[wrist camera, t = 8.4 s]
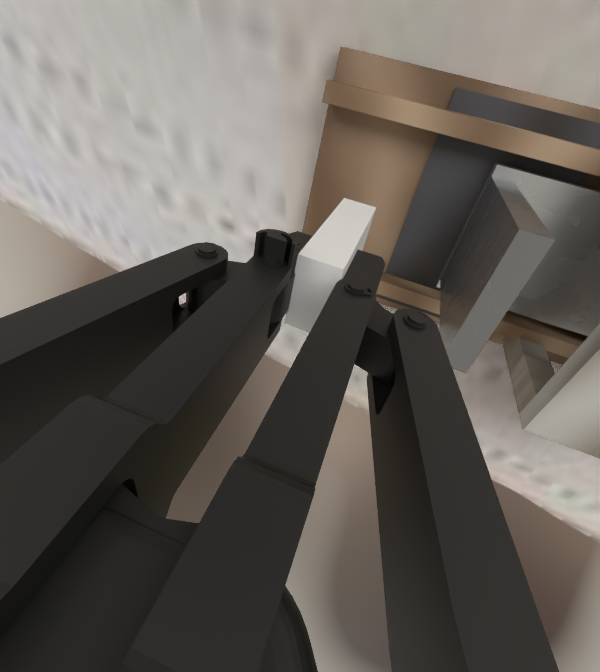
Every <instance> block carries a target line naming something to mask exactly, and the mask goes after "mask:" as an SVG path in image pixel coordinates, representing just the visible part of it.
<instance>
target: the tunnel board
mask: <svg viewBox="0 0 600 672" xmlns="http://www.w3.org/2000/svg"><path fill="white" fill-rule="evenodd" d="M322 102H324V103H328V104H329V106H328V110H327V115H326V120H325V125H324V130H323V135H322V139H321V144H320V149H319V154H318V159H317V164H316V169H315V173H314V178H313V183H312V188H311V193H310V198H309V202H308V207H307V212H306V217H305V222H304V227H303V232H302V233H305V234H308V235H311V236H313V235H314V234H315V233H316V232H317V231H318V229H319V228H320V227H321V226H322V224H323V223H324V222H325V221H326V220H327V218H328V217H329V216H330V215H331V214H332V212H333V211H334V210H335V209H336V207H337V206H338V205H339V204H340V203H341V201H342V200H343V199H344V198H346V199H350V200H353V201H356V202H360V203H363V204H366V205H370V206H373V207H376V210H375V213H374V216H373V219H372V223H371V226H370V229H369V232H368V235H367V238H366V241H365V244H364V248H363V251H365V252H368V253H371V254H374V255H377V256H380V257H382V258H383V260H384V262H385V267H384V270H383V274H382V277H381V280H380V283H379V286H378V289H377V292H376V300H377V302H379V303H382V304H385V305H388V306H391V307H394V308H397V309H404V308H406V309H413V310H417V311H421V312H423V313H425V314H426V315H428V316H429V317H430V318H431V319H432V320H434V321H435V322H438V323H440V288H438V287H436V282H437V280H438V278H439V276H440V274H441V272H442V270H443V268H444V266H445V263H446V261H447V259H448V257H449V255H450V253H451V251H452V249H453V247H454V245H455V243H456V241H457V239H458V237H459V235H460V233H461V231H462V229H463V227H464V225H465V223H466V221H467V219H468V217H469V215H470V213H471V211H472V209H473V207H474V205H475V203H476V201H477V199H478V197H479V195H480V193H481V191H482V189H483V187H484V185H485V183H486V181H487V179H488V177H489V174H490V172H491V170H492V168H493V166H494V164H495V162H498V163H501V164H505V165H509V166H512V167H516V168H520V169H523V170H527V171H531V172H534V173H538V174H542V175H545V176H549V177H553V178H556V179H560V180H564V181H567V182H571V183H575V184H578V185H582V186H586V187H589V188H593V189H597V190H600V110H598V109H594V108H590V107H586V106H582V105H578V104H574V103H570V102H566V101H562V100H557V99H553V98H549V97H545V96H541V95H537V94H533V93H529V92H525V91H521V90H517V89H512V88H508V87H504V86H500V85H496V84H492V83H488V82H484V81H480V80H476V79H472V78H468V77H463V76H459V75H455V74H451V73H447V72H443V71H439V70H435V69H431V68H427V67H423V66H419V65H414V64H410V63H406V62H402V61H398V60H394V59H390V58H386V57H382V56H378V55H374V54H370V53H365V52H361V51H357V50H353V49H349V48H345V47H340V52H339V57H338V62H337V67H336V72H335V76H334V80H327V81H326V86H325V91H324V96H323V101H322ZM488 340H491V341H494V342H497V343H500V344H503V347H504V351H505V355H506V360H507V364H508V368H509V373H510V377H511V381H512V385H513V390H514V394H515V398H516V403H517V407H518V411H519V416H520V420H521V424H522V429H523V430H524V431H527V432H529V433H532V434H535V435H538V436H540V437H543V438H546V439H549V440H551V441H554V442H557V443H559V444H562V445H565V446H568V447H570V448H573V449H576V450H578V451H581V452H584V453H587V454H589V455H592V456H595V457H598V458H600V324H599V325H598V326H597V327H596V329H595V330H594V331H593V332H592V333H591V334H590V335H589V336H586V335H582V334H579V333H576V332H573V331H570V330H567V329H564V328H561V327H558V326H555V325H552V324H549V323H546V322H543V321H539V320H536V319H533V318H530V317H527V316H524V315H521V314H518V313H515V312H512V311H509V310H508V311H507V312H506V314H505V315H504V317H503V318H502V320H501V321H500V323H499V324H498V326H497V327H496V329H495V330H494V332H493V333H492V335H491V336H490V337H489V339H488ZM550 361H553V362H556V363H559V364H562V367H561V368H560V369H559V370H558V371H557V372H556V373H554V371H553V368H552V365H551V363H550Z"/></svg>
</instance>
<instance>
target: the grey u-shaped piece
mask: <svg viewBox="0 0 600 672" xmlns="http://www.w3.org/2000/svg"><path fill="white" fill-rule="evenodd" d="M436 287H438V288H440V335H441V338H442V341H443V344H444V347H445V349H446V352H447V355H448V358H449V361H450V364H451V366H452V368H453V369H456V370H459V371H462V372H465V373H466V372H467V370H468V369H469V367H470V366H471V364H472V363H473V361H474V360H475V358H476V357H477V355H478V354H479V352H480V351H481V349H482V348H483V346H484V345H485V343H486V342H487V340H488V339H489V337H490V336H491V335H492V333H493V332H494V330H495V329H496V327H497V326H498V324H499V323H500V321H501V320H502V318H503V317H504V315H505V314H506V312H507V311H508V310H509V311H512V312H515V313H518V314H521V315H524V316H527V317H530V318H533V319H536V320H539V321H543V322H546V323H549V324H552V325H555V326H558V327H561V328H564V329H567V330H570V331H573V332H576V333H579V334H582V335H586V336H589V335H590V334H591V333H592V332H593V331H594V330H595V329H596V327H597V326H598V325H599V324H600V190H597V189H593V188H589V187H586V186H582V185H578V184H575V183H571V182H567V181H564V180H560V179H556V178H553V177H549V176H545V175H542V174H538V173H534V172H531V171H527V170H523V169H520V168H516V167H512V166H509V165H505V164H501V163H498V162H495V164H494V166H493V168H492V170H491V172H490V174H489V177H488V179H487V181H486V183H485V185H484V187H483V189H482V191H481V193H480V195H479V197H478V199H477V201H476V203H475V205H474V207H473V209H472V211H471V213H470V215H469V217H468V219H467V221H466V223H465V225H464V227H463V229H462V231H461V233H460V235H459V237H458V239H457V241H456V243H455V245H454V247H453V249H452V251H451V253H450V255H449V257H448V259H447V261H446V263H445V266H444V268H443V270H442V272H441V274H440V276H439V278H438V280H437V282H436Z"/></svg>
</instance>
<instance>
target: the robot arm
mask: <svg viewBox="0 0 600 672" xmlns="http://www.w3.org/2000/svg"><path fill="white" fill-rule="evenodd" d="M375 210H376V207H373V206H370V205H366V204H363V203H360V202H356V201H353V200H350V199H346V198H344V199H343V200H342V201H341V203H340V204H339V205H338V206H337V207H336V209H335V210H334V211H333V212H332V214H331V215H330V216H329V217H328V218H327V220H326V221H325V222H324V223H323V224H322V226H321V227H320V228H319V229H318V231H317V232H316V233H315V234H314V235H313V236H311V235H308V234H305V233H302V232H298V231H297V232H293V233H290V234H288V233H286V232H284V231H279V230H274V229H265V230H260V231H258V232H256V241H255V250H254V256H253V257H252V258H251V259H250V260H249V261H248V262H247V263H239V262H233V261H228V253H227V251H226V250H225V249H224V248H222V247H221V246H218V245H216V244H213V243H207V242H205V243H196V244H192V245H189V246H187V247H184V248H182V249H179V250H176V251H174V252H171V253H169V254H166V255H163V256H161V257H158V258H156V259H153V260H150V261H148V262H145V263H143V264H140V265H137V266H135V267H132V268H130V269H127V270H124V271H122V272H119V273H117V274H114V275H112V276H109V277H106V278H104V279H101V280H99V281H96V282H93V283H91V284H88V285H86V286H83V287H80V288H78V289H75V290H72V291H70V292H67V293H65V294H62V295H59V296H57V297H54V298H52V299H49V300H46V301H44V302H41V303H39V304H36V305H34V306H31V307H28V308H26V309H23V310H21V311H18V312H15V313H13V314H10V315H7V316H5V317H2V318H0V672H318V671H317V667H316V663H315V659H314V655H313V651H312V647H311V643H310V639H309V636H308V632H307V629H306V626H305V623H304V621H303V618H302V615H301V613H300V611H299V608H298V607H297V605H296V603H295V601H294V599H293V597H292V595H291V594H290V592H289V591H288V589H287V588H286V586H285V584H286V580H287V578H288V574H289V571H290V568H291V565H292V562H293V558H294V556H295V552H296V549H297V546H298V543H299V540H300V537H301V533H302V530H303V527H304V524H305V521H306V518H307V515H308V512H309V508H310V505H311V502H312V499H313V495H314V491H315V485H316V481H317V478H318V475H319V472H320V468H321V465H322V462H323V459H324V456H325V453H326V450H327V447H328V444H329V441H330V438H331V434H332V431H333V428H334V425H335V422H336V419H337V416H338V412H339V410H340V407H341V404H342V400H343V397H344V394H345V391H346V388H347V385H348V382H349V379H350V376H351V373H352V369H353V366H354V364H356V365H357V366H359V367H360V368H362V369H363V370H365V371H367V372H368V375H367V388H368V400H369V412H370V424H371V436H372V448H373V460H374V472H375V485H376V496H377V509H378V521H379V533H380V544H381V557H382V569H383V580H384V591H385V603H386V604H385V605H386V617H387V629H388V641H389V651H390V660H391V668H392V672H559V670H558V667H557V664H556V661H555V659H554V656H553V653H552V650H551V647H550V645H549V642H548V639H547V636H546V633H545V630H544V628H543V625H542V622H541V619H540V616H539V614H538V611H537V608H536V605H535V602H534V599H533V596H532V593H531V591H530V588H529V585H528V582H527V579H526V576H525V574H524V571H523V568H522V565H521V563H520V559H519V557H518V554H517V551H516V548H515V545H514V542H513V539H512V537H511V534H510V531H509V528H508V525H507V522H506V520H505V517H504V514H503V511H502V508H501V506H500V503H499V500H498V497H497V494H496V491H495V489H494V486H493V483H492V480H491V477H490V474H489V471H488V469H487V466H486V463H485V460H484V457H483V454H482V452H481V449H480V446H479V443H478V440H477V437H476V435H475V432H474V429H473V426H472V423H471V420H470V418H469V415H468V412H467V409H466V406H465V403H464V400H463V398H462V395H461V392H460V389H459V386H458V383H457V381H456V378H455V375H454V372H453V369H452V366H451V364H450V361H449V358H448V355H447V352H446V349H445V347H444V344H443V341H442V338H441V335H440V332H439V330H438V327H437V325H436V323H435V322H434V320H432V319H431V318H430V317H429V316H428V315H426V314H425V313H423V312H421V311H417V310H413V309H406V308H404V309H399V310H397V311H396V312H395V313H394V314H392V313H390V312H389V311H387V310H386V309H384V308H383V307H382V306H381V305H380V304H379V303H378V302H377V300H376V292H377V289H378V286H379V283H380V280H381V277H382V274H383V270H384V267H385V262H384V260H383V258H382V257H380V256H377V255H374V254H371V253H368V252H365V251H363V248H364V244H365V241H366V238H367V235H368V232H369V229H370V226H371V223H372V219H373V216H374V213H375ZM184 293H186V303H184V304H181V305H179V296H181V295H182V294H184ZM285 313H286V317H285V323H286V324H288V325H291V326H294V327H297V328H300V329H302V330H305V331H308V332H310V333H309V335H308V337H307V338H306V340H305V342H304V344H303V346H302V348H301V350H300V352H299V353H298V355H297V357H296V359H295V361H294V363H293V365H292V367H291V368H290V370H289V372H288V374H287V376H286V378H285V380H284V382H283V384H282V385H281V387H280V389H279V391H278V393H277V395H276V397H275V398H274V400H273V402H272V404H271V406H270V408H269V410H268V412H267V414H266V415H265V417H264V419H263V421H262V423H261V425H260V427H259V428H258V430H257V432H256V434H255V436H254V438H253V440H252V441H251V444H250V445H249V447H248V449H247V451H246V453H245V454H244V455H243V456H242V457H238V458H237V459H236V460H235V461H234V462H233V464H232V466H231V467H230V469H229V470H228V472H227V474H226V476H225V477H224V479H223V481H222V483H221V485H220V486H219V488H218V490H217V492H216V494H215V496H214V497H213V499H212V501H211V503H210V505H209V506H208V508H207V510H206V512H205V514H204V516H203V517H202V519H201V521H200V523H192V522H185V521H177V520H171V519H165V518H166V516H167V513H168V510H169V507H170V503H171V501H172V498H173V496H174V494H175V492H176V491H177V489H178V487H179V486H180V484H181V482H182V481H183V479H184V478H185V476H186V475H187V473H188V472H189V470H190V469H191V467H192V466H193V464H194V462H195V461H196V459H197V458H198V456H199V455H200V453H201V452H202V450H203V448H204V447H205V445H206V444H207V442H208V441H209V439H210V438H211V436H212V434H213V433H214V431H215V430H216V428H217V427H218V425H219V423H220V422H221V421H222V419H223V417H224V416H225V414H226V413H227V411H228V410H229V408H230V407H231V405H232V403H233V402H234V400H235V399H236V397H237V396H238V394H239V393H240V391H241V389H242V388H243V386H244V385H245V383H246V382H247V380H248V379H249V377H250V375H251V374H252V372H253V371H254V369H255V368H256V366H257V365H258V363H259V361H260V360H261V358H262V357H263V355H264V354H265V352H266V351H267V349H268V348H269V346H270V344H271V343H272V341H273V340H274V338H275V337H276V335H277V334H278V332H279V330H280V326H281V321H282V318H283V316H284V315H285Z"/></svg>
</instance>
